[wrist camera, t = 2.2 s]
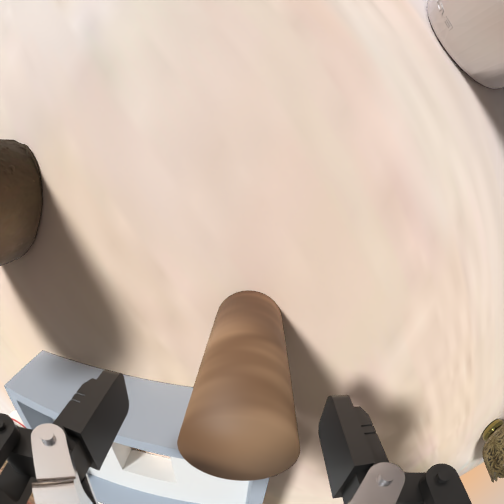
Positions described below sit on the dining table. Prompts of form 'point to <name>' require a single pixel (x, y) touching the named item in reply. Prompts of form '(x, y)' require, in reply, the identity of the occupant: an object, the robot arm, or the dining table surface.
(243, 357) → the peg
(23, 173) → the pillar candle
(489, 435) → the mottled brown rounded lump
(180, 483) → the box
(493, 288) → the dining table surface
